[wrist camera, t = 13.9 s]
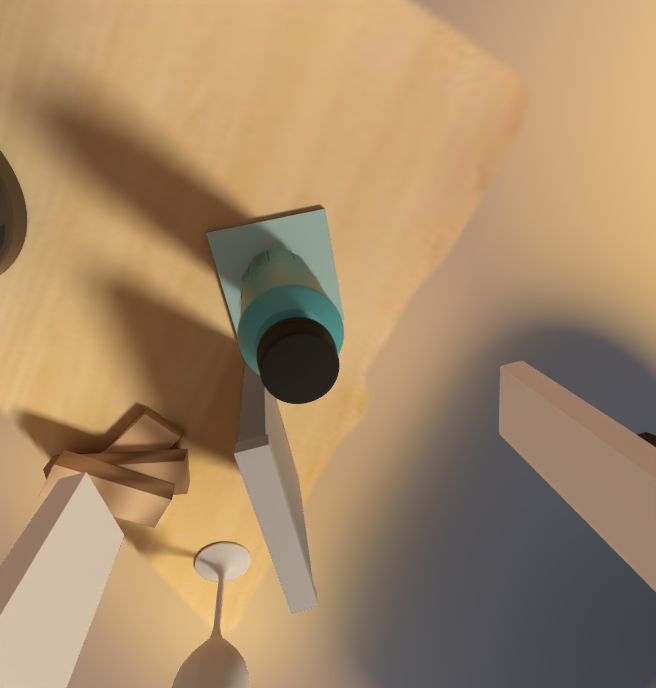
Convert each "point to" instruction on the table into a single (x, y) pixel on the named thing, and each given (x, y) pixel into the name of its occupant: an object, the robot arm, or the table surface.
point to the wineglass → (217, 625)
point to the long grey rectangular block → (274, 490)
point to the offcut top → (116, 488)
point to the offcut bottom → (146, 434)
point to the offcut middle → (147, 465)
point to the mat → (276, 234)
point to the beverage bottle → (289, 328)
